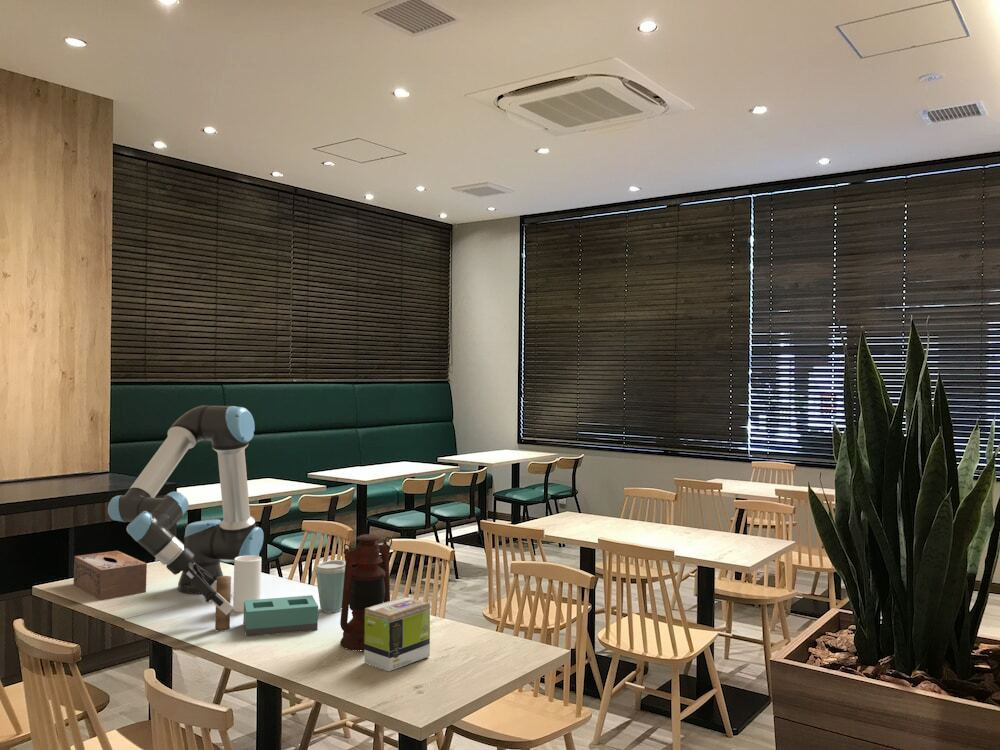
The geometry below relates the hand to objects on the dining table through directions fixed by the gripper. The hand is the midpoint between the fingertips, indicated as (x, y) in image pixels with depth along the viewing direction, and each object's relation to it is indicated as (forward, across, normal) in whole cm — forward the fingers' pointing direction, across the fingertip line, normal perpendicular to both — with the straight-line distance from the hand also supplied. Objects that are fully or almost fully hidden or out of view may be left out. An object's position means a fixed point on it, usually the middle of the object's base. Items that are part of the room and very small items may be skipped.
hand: (229, 604), depth 229 cm
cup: (+10, -19, -1) cm, 22 cm away
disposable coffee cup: (+27, -10, +17) cm, 34 cm away
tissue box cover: (-20, -56, -31) cm, 68 cm away
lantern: (+30, +24, +20) cm, 43 cm away
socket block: (+15, +3, +5) cm, 16 cm away
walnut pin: (+4, 0, -6) cm, 7 cm away
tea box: (+34, +40, +24) cm, 57 cm away
